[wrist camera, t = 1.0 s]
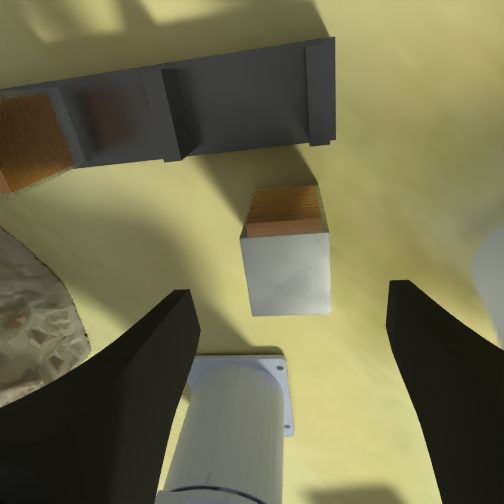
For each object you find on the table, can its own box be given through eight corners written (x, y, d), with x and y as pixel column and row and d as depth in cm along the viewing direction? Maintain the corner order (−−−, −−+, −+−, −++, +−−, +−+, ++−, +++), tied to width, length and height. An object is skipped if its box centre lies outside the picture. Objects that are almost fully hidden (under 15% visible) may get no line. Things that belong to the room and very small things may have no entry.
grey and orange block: (262, 251, 20) (252, 316, 15) (253, 182, 18) (237, 229, 13) (320, 248, 20) (330, 313, 14) (318, 176, 18) (329, 223, 12)
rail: (331, 39, 14) (362, 18, 8) (332, 134, 16) (358, 179, 10) (-20, 94, 17) (-208, 111, 11) (16, 169, 19) (-125, 223, 13)
